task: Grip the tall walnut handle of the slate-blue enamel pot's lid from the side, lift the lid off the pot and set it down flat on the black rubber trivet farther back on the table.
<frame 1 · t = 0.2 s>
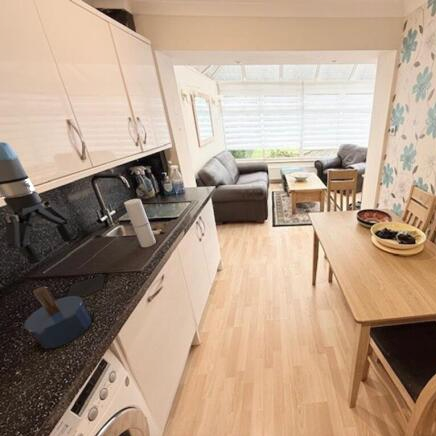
hand: (53, 251, 84), 22 cm above the countertop, tool pointing down, fingers open, 13 cm apart
pot: (68, 331, 79), on the countertop
trivet: (86, 288, 98), on the countertop
lid: (55, 312, 75), point 8 cm above the countertop, touching pot
cylindrical container: (149, 244, 128), on the countertop
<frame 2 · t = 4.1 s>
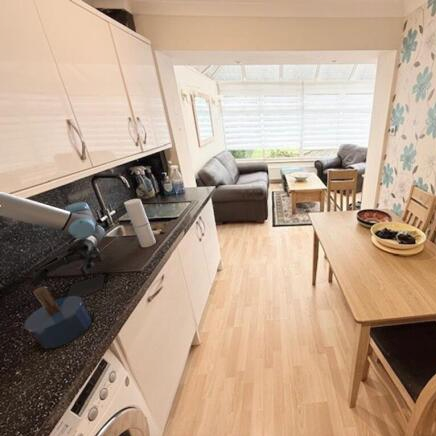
hand: (59, 277, 80), 15 cm above the countertop, tool horizontal, fingers open, 13 cm apart
nothing on the countertop moved.
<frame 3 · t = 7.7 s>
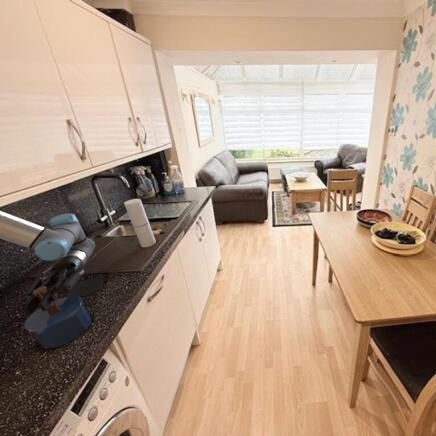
hand: (34, 309, 67), 15 cm above the countertop, tool horizontal, fingers closed on lid, 3 cm apart
lid: (55, 312, 75), point 8 cm above the countertop, touching gripper, pot
everything else where it was.
when the fingers open (8 cm above the countertop, at t = 18.1 s): lid stays where it is, resting on trivet.
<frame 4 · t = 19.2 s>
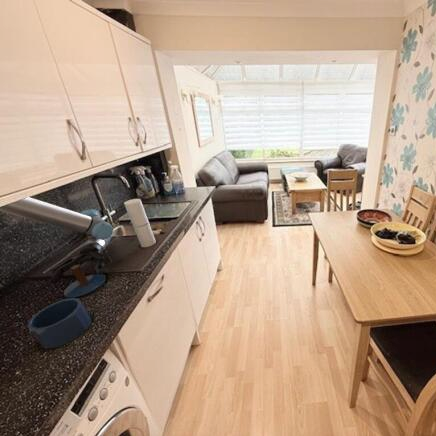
hand: (74, 276, 92), 8 cm above the countertop, tool horizontal, fingers open, 13 cm apart
lid: (85, 285, 98), point 1 cm above the countertop, touching trivet
everything else where it was.
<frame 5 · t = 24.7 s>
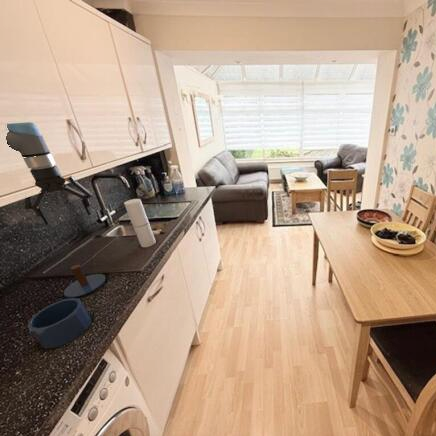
hand: (69, 218, 98), 27 cm above the countertop, tool pointing down, fingers open, 13 cm apart
nothing on the countertop moved.
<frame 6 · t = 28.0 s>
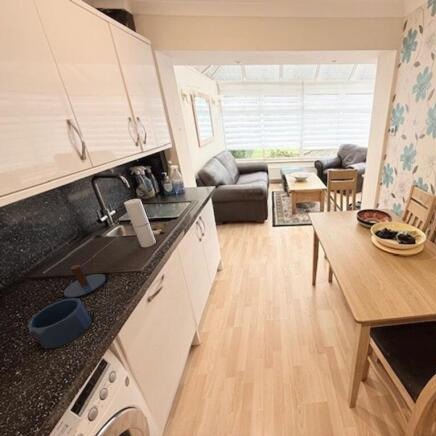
nothing on the countertop moved.
at the end: lid inside the target area on the trivet (0.1 cm from its centre), point 1.2 cm above the trivet's base; lid tilted 0°; the gripper is holding nothing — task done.
